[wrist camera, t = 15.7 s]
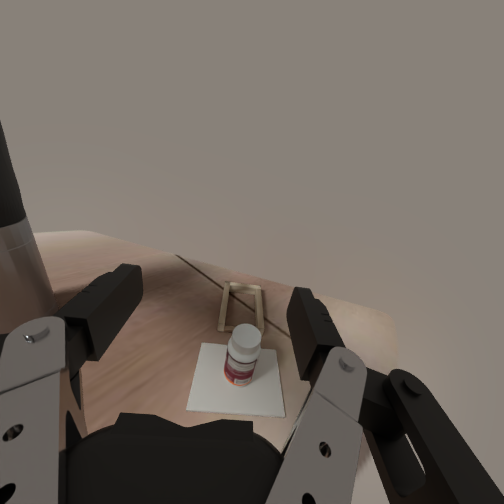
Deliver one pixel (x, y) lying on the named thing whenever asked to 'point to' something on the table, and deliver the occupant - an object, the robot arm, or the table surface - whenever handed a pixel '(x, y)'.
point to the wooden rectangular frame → (243, 289)
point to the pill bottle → (242, 355)
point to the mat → (235, 398)
